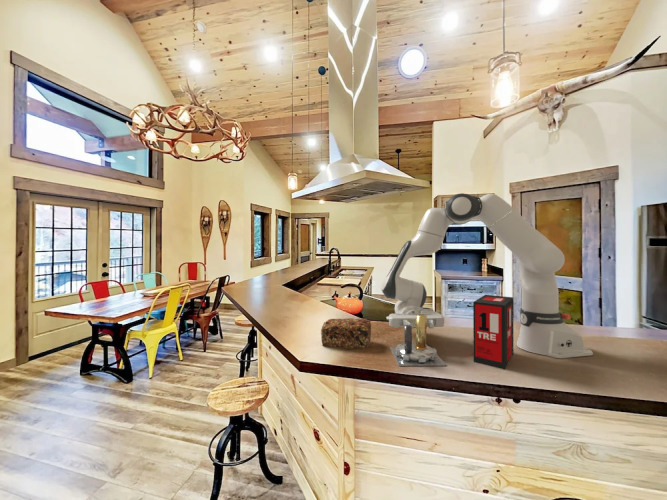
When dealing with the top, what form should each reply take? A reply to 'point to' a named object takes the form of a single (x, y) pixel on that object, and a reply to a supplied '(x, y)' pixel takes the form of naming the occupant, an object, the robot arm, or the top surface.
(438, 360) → the base plate
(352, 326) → the bread
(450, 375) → the top surface
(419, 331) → the roller
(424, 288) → the robot arm
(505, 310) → the cleaning product box
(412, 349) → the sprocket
